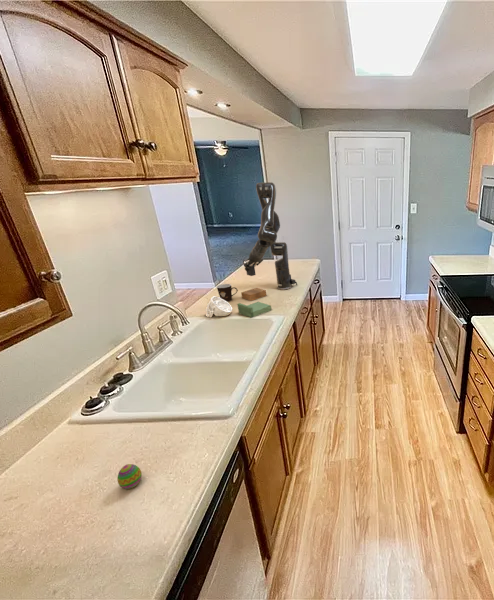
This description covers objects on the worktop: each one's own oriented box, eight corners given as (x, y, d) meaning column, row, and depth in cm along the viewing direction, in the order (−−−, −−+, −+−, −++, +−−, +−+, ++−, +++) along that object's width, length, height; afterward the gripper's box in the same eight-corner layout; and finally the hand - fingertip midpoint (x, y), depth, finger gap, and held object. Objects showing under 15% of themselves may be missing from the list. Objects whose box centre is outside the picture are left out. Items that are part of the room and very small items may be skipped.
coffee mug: (216, 301, 213) (213, 287, 209) (226, 297, 220) (224, 283, 217) (229, 304, 209) (227, 289, 205) (240, 299, 216) (237, 285, 213)
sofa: (258, 306, 206) (257, 297, 203) (271, 310, 199) (270, 300, 197) (238, 313, 195) (237, 303, 193) (251, 317, 188) (249, 308, 186)
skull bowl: (208, 309, 197) (215, 292, 193) (229, 321, 199) (237, 305, 195) (197, 315, 187) (205, 298, 183) (220, 328, 189) (228, 311, 185)
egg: (138, 489, 84) (131, 472, 82) (116, 493, 83) (109, 475, 81) (146, 474, 89) (141, 457, 87) (126, 477, 88) (120, 460, 86)
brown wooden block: (257, 293, 229) (256, 287, 227) (266, 295, 223) (265, 290, 222) (242, 298, 219) (241, 292, 218) (251, 300, 214) (250, 295, 213)
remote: (250, 273, 215) (248, 260, 212) (255, 275, 213) (253, 261, 210) (246, 274, 213) (244, 261, 210) (251, 276, 210) (249, 262, 207)
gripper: (264, 246, 208) (254, 262, 219) (244, 250, 197) (235, 267, 208) (270, 255, 207) (260, 271, 218) (251, 260, 196) (241, 276, 207)
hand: (248, 269), depth 213 cm, fingers closed on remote, 3 cm apart
